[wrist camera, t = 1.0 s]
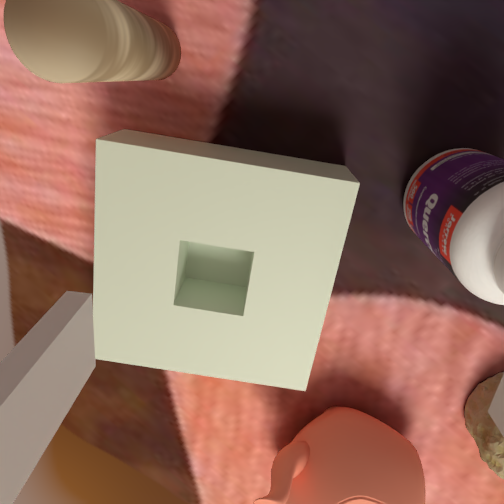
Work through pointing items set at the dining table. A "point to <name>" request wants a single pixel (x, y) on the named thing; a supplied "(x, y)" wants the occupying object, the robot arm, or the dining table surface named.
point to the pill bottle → (462, 216)
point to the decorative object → (486, 424)
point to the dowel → (89, 41)
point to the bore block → (214, 256)
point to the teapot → (346, 464)
